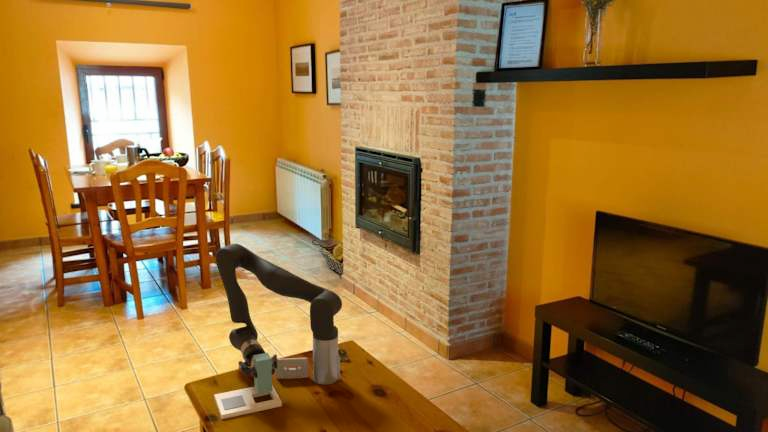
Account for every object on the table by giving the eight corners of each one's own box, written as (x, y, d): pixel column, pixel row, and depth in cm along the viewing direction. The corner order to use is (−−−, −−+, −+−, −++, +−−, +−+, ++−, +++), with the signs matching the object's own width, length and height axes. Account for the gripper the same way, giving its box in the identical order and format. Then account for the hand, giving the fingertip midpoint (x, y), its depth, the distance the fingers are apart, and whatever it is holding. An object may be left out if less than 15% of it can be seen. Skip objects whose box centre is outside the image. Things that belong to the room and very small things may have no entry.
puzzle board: (271, 387, 208) (271, 382, 208) (281, 406, 196) (281, 401, 195) (214, 398, 200) (214, 394, 199) (221, 419, 187) (221, 414, 187)
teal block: (268, 384, 201) (267, 352, 199) (272, 391, 197) (271, 358, 194) (254, 387, 199) (253, 355, 197) (258, 394, 195) (256, 361, 192)
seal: (309, 362, 230) (345, 366, 227) (308, 352, 229) (345, 356, 226) (317, 350, 239) (351, 354, 236) (316, 340, 238) (351, 343, 234)
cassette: (275, 379, 214) (275, 360, 212) (276, 377, 216) (275, 358, 214) (308, 378, 215) (308, 359, 214) (308, 375, 217) (308, 356, 216)
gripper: (232, 347, 205) (242, 367, 190) (272, 340, 211) (285, 359, 196) (233, 366, 207) (243, 388, 192) (273, 359, 213) (285, 379, 198)
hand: (264, 373), depth 194 cm, fingers closed on teal block, 5 cm apart
